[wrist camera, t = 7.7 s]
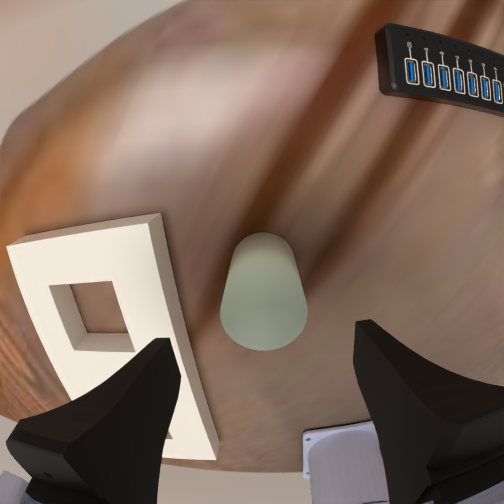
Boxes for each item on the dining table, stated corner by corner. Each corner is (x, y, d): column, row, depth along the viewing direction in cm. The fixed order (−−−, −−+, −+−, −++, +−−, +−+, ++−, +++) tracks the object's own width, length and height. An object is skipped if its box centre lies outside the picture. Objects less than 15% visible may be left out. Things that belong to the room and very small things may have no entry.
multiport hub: (371, 32, 16) (384, 21, 13) (525, 74, 15) (543, 72, 13) (377, 95, 17) (391, 90, 15) (529, 125, 16) (547, 126, 14)
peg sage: (296, 287, 21) (309, 346, 15) (236, 293, 21) (227, 353, 15) (292, 229, 20) (305, 271, 14) (227, 235, 20) (213, 280, 14)
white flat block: (219, 440, 27) (216, 459, 25) (110, 432, 28) (103, 449, 25) (160, 212, 20) (147, 223, 17) (25, 235, 20) (6, 246, 18)
